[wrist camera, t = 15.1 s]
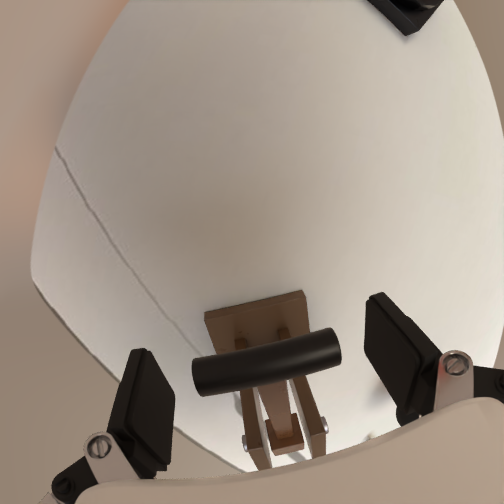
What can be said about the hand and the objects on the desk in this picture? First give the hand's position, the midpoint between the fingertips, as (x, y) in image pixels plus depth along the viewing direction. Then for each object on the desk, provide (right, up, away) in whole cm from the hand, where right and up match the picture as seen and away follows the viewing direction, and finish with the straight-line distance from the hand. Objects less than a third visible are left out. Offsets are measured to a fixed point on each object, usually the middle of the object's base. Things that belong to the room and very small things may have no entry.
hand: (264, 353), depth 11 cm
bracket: (+1, -5, +16) cm, 17 cm away
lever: (+1, -4, +4) cm, 5 cm away
